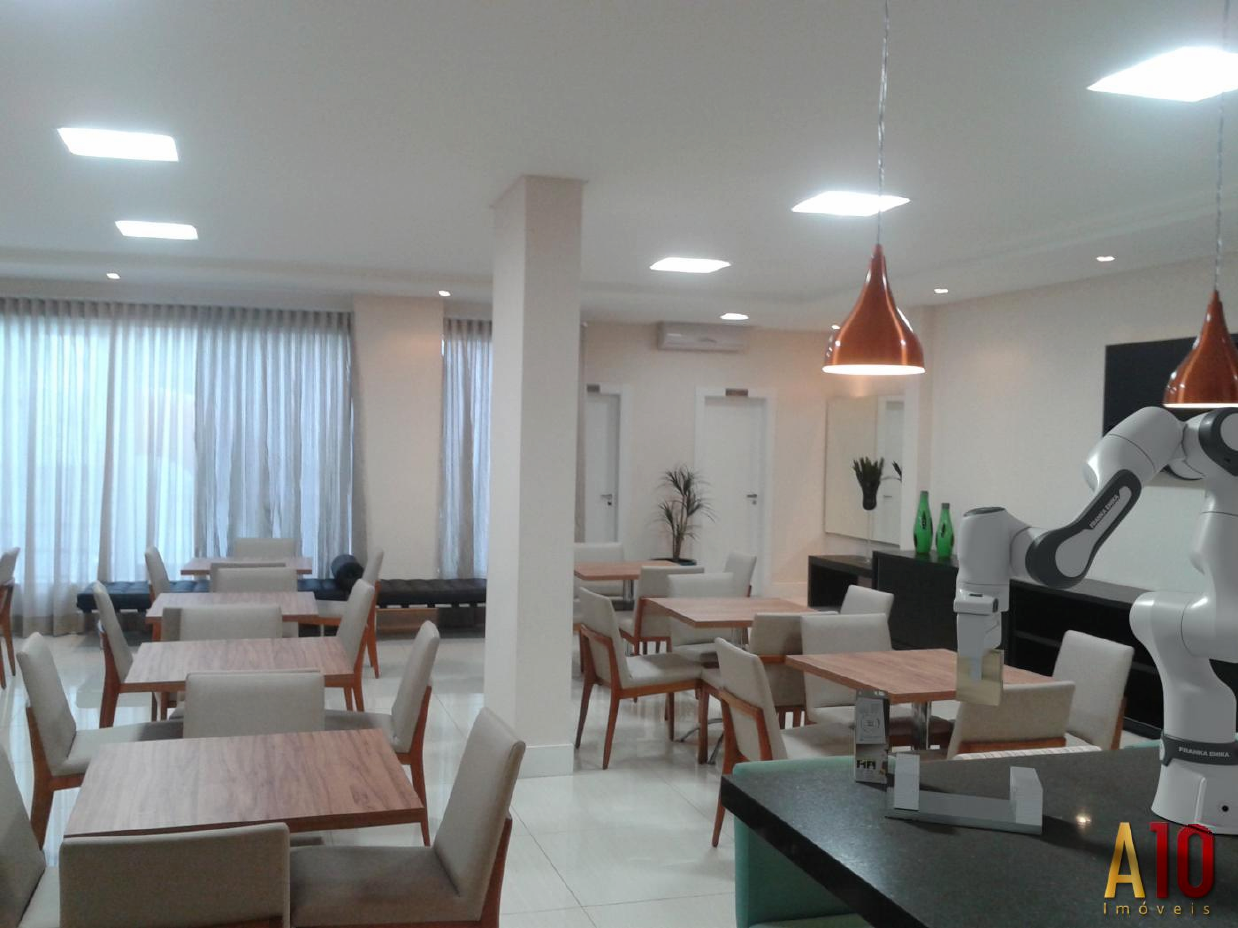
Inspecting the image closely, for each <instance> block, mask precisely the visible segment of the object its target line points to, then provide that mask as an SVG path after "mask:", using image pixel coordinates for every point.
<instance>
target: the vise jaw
mask: <svg viewBox="0 0 1238 928" xmlns="http://www.w3.org/2000/svg"><path fill="white" fill-rule="evenodd" d="M920 756H921V755H919V754H918V755H917V754H910V753H909V754H908V753H897V752H896V758H895V765H894V766H895V767H894V768H895V769H894V786H893V788H894V807H895V808H904V809H913V810H918V804H919V790H920V760H921V759H920Z"/></svg>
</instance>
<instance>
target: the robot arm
mask: <svg viewBox="0 0 1238 928" xmlns="http://www.w3.org/2000/svg"><path fill="white" fill-rule="evenodd" d="M1161 471H1162V472H1164V473H1165V474H1166V475H1168V476H1169V477H1171V478H1173V479H1176V480H1179V481H1184V482H1185V481H1186V482H1187V481H1188V482H1191V481H1198V480H1203V483H1204V500H1203V503H1202V505H1201V507H1200V508H1201V509H1200V512H1199V515H1198V517H1197V521H1196V524H1195V527H1194V531H1193V533H1192V536H1191V540H1190V543H1189V547H1188V550H1187V553H1188V555H1187V556H1188V558H1189V561H1190V563H1191V564H1192V566H1193V568H1195V570H1197V571H1199V573H1201V574H1202V575H1203V576H1204V577H1205V589H1204V591H1203V593H1196V592H1188V591H1180V590H1172V589H1168V590H1165V589H1164V590H1155V591H1149V592H1144V593H1141V594H1140V595H1139V596H1138V597H1137V598H1136V599H1135V600H1134V602H1133V604H1132V606H1131V608H1130V611H1129V625H1130V628H1131V631H1132V634H1133V635H1134V636H1135V638H1136V639H1137V640H1138V641H1139V642H1140V643H1141V644H1142V645H1143V646H1144V647H1145V648H1146V650H1147V651H1148V653H1149V654H1150V656H1151V657H1152V660H1153V662H1154V663H1155V665H1156V669H1157V671H1158V673H1159V676H1160V680H1161V684H1162V685H1161V686H1162V692H1163V730H1161V732H1160V739H1159V760H1160V763H1161V766H1160V767H1161V768H1160V774H1159V779H1158V785H1157V789H1156V794H1155V796H1154V800H1153V802H1152V804H1151V808H1150V809H1151V811H1152V812H1153V813H1154V814H1156V815H1158V816H1159V817H1162V818H1164V819H1166V820H1169V821H1172V822H1175V823H1178V824H1180V825H1181V824H1182V825H1185V826H1188V824H1199V825H1201V826H1205V827H1206V828H1208V830H1210V831H1211V832H1212V833H1211V834H1221V835H1222V834H1224V835H1238V739H1237V738H1236V723H1237V721H1236V720H1237V699H1236V696H1235V693H1234V692H1233V690H1232V689H1231V687H1230V686H1228V685H1227V684H1226V683H1225V682H1223V681H1222V680H1221V679H1220V678H1219V677H1218V676H1217V674H1216V673H1215V672H1214V670H1213V667H1212V665H1211V662H1210V660H1211V659H1212V660H1216V661H1222V662H1227V663H1231V664H1232V663H1233V664H1238V406H1226V407H1225V406H1223V407H1219V408H1215V409H1212V410H1211V411H1209V412H1205V413H1202V414H1199V415H1196V416H1194V417H1191V418H1189V419H1188V420H1186V421H1182V420H1180V419H1178V418H1177V417H1176V416H1175V415H1174V413H1173V414H1172V412H1171V411H1168V410H1167V409H1165V408H1162V407H1160V406H1159V407H1158V406H1146V407H1143V408H1140V409H1138V410H1137V411H1135V412H1133V413H1132V414H1130V415H1129V416H1127V417H1126V418H1125V419H1123V420H1121V422H1119V423H1118V424H1117V425H1115V426H1114V427H1113V428H1111V430H1110V431H1108V432H1107V433H1105V435H1104V436H1103V437H1101V438H1100V440H1098V442H1097V443H1096V444H1095V445H1094V446H1093V447H1092V448H1091V450H1089V452H1087V455H1086V457H1085V458H1084V460H1083V462H1082V473H1083V478H1084V479H1085V482H1086V484H1087V485H1088V486H1089V488H1090V489H1091V491H1092V492H1093V495H1092V496H1091V497H1090V498H1089V499H1088V501H1086V503H1085V504H1084V505H1083V507H1082V508H1081V509H1080V510H1079V511H1078V512H1077V513H1076V514H1075V516H1074V517H1073V518H1072V519H1071V520H1070V521H1069V522H1068V523H1066V524H1064V525H1062V526H1059V527H1055V528H1049V529H1048V528H1041V527H1034V526H1032V525H1030V524H1028V523H1027V522H1024V521H1022V520H1020V519H1018V518H1016V517H1015V516H1013V515H1012V514H1011V513H1010V512H1009V511H1008V510H1007V509H1006V508H1005V507H1001V506H989V507H988V506H987V507H984V506H983V507H978V508H973V509H970V510H968V511H966V512H965V513H964V514H963V515H962V517H961V520H960V522H959V527H958V534H957V550H956V551H957V552H956V558H957V560H958V567H959V568H958V571H957V572H958V573H957V576H956V582H955V583H956V584H955V588H956V589H955V598H954V599H953V612H954V613H957V616H956V634H957V635H956V636H957V649H958V650H959V654H960V656H961V657H963V658H969V665H970V670H971V673H970V678H971V680H972V681H981V680H982V678H983V670H982V661H983V656H985V655H986V654H988V653H989V652H990V651H992V650H993V649H996V648H998V647H999V646H1000V645H1001V643H1002V612H1008V611H1009V610H1010V609H1009V607H1010V603H1009V601H1010V579H1011V578H1013V579H1017V580H1021V581H1026V582H1029V583H1034V584H1040V585H1041V586H1045V587H1048V588H1051V589H1054V590H1060V591H1061V590H1062V591H1063V590H1068V589H1071V588H1073V587H1075V586H1077V585H1079V584H1080V583H1081V582H1082V581H1083V580H1084V579H1085V577H1086V576H1087V574H1088V573H1089V570H1090V568H1091V567H1092V564H1093V561H1094V559H1095V557H1096V556H1097V553H1098V552H1099V550H1101V549H1100V548H1101V547H1102V546H1104V545H1103V544H1105V542H1106V541H1107V540H1108V539H1109V537H1110V536H1111V535H1112V534H1113V533H1114V531H1115V530H1116V529H1117V528H1118V527H1119V525H1120V524H1121V523H1122V521H1123V520H1125V518H1126V517H1127V516H1128V514H1130V512H1131V510H1132V509H1133V508H1134V507H1135V505H1136V503H1137V502H1138V500H1139V499H1140V496H1141V494H1142V490H1143V489H1144V488H1145V487H1146V486H1147V485H1148V484H1149V483H1150V482H1151V481H1152V480H1153V479H1154V478H1155V477H1156V476H1157V475H1158V474H1159V472H1161Z"/></svg>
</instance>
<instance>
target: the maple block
mask: <svg viewBox="0 0 1238 928" xmlns="http://www.w3.org/2000/svg"><path fill="white" fill-rule="evenodd" d="M1004 659H1005V650H1004V649H996V648H995V649H993V650H992V651H990V652H989V653H988V654H986V655H985V656H983V661H982V670H983V678H982V680H981V681H972V680H971V678H970V673H971V670H970V665H969V658H963V657H961V656H960V654H959V650H958V648H957V650H956V680H955V681H956V683H955V684H956V686H955V688H956V689H955V693H956V694H955V701H956V702H960V703H961V702H963V703H968V704H969V703H970V704H971V703H972V704H977V705H985V706H992V707H999V706H1000V704H1001V703H1003V702H1004V671H1005V670H1004V668H1005V667H1004V665H1005V660H1004Z"/></svg>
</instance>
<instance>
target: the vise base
mask: <svg viewBox="0 0 1238 928" xmlns="http://www.w3.org/2000/svg"><path fill="white" fill-rule="evenodd" d="M1009 775H1010V778H1009V799H1005V798H1004V799H1002V798H993V797H983V796H975V795H974V796H973V795H965V794H957V793H945V792H939V791H938V792H937V791H929V790H928V791H927V790H920V789H919V804H918V810H913V809H904V808H895V807H894V787H893V786H892V787H890V786H887V787H886V794H885V795H886V796H885V803H884V817H885V816H887V817H886V818H890V817H892V818H891V819H898V818H904V819H903V820H907V819H912V820H911V821H916V820H919V821H918V822H924V821H925V822H927V823H935V824H943V825H952V826H961V827H969V828H970V827H971V828H978V829H985V830H986V829H987V830H994V831H995V830H997V831H1004V832H1014V833H1020V834H1021V833H1022V834H1030V835H1039V836H1041V835H1042V832H1043V795H1044V788H1043V787H1042V786H1043V785H1042V784H1041V781H1040V778H1039V776H1038V773H1037V771H1036V768H1033V767H1024V766H1012V765H1010V774H1009ZM1042 836H1043V835H1042Z"/></svg>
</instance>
